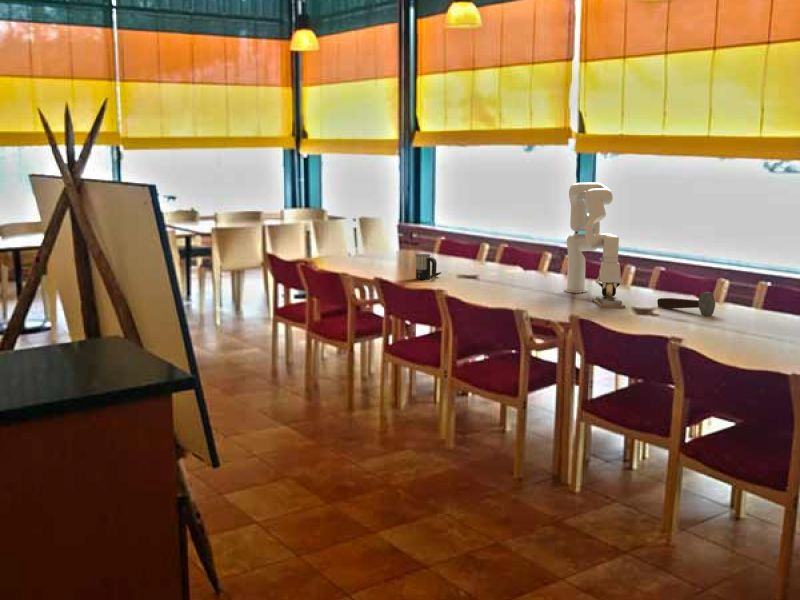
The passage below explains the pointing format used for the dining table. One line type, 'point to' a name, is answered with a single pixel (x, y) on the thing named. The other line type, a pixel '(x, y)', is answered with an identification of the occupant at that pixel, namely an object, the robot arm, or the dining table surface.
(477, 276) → the dining table surface
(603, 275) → the robot arm
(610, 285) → the pin
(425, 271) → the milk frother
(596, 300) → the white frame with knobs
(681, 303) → the hammer
